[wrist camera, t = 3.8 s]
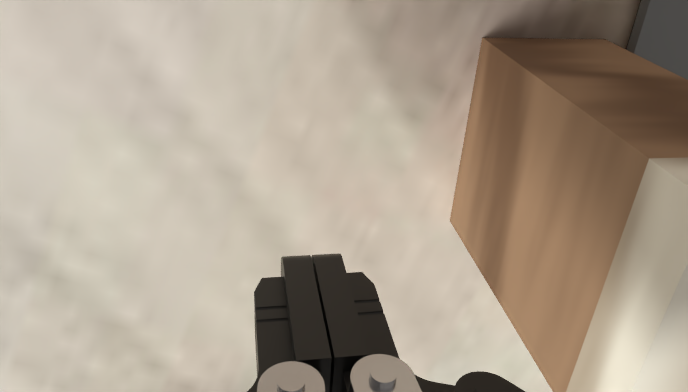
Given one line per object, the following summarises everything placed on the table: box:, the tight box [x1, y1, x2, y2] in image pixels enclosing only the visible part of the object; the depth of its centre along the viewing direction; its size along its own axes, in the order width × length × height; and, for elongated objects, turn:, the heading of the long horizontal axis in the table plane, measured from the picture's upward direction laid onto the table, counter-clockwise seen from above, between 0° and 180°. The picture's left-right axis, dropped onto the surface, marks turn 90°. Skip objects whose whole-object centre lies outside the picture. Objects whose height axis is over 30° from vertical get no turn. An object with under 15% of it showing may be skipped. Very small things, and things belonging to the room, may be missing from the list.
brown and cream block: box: [450, 38, 688, 392], centre depth 19 cm, size 5×8×12 cm, turn 177°
